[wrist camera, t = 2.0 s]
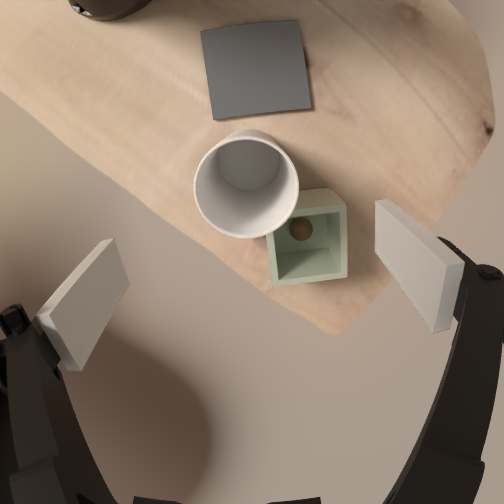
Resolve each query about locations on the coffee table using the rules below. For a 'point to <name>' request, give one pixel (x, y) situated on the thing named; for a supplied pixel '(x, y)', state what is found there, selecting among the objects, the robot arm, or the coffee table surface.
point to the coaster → (255, 68)
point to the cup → (246, 185)
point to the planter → (311, 241)
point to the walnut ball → (301, 229)
